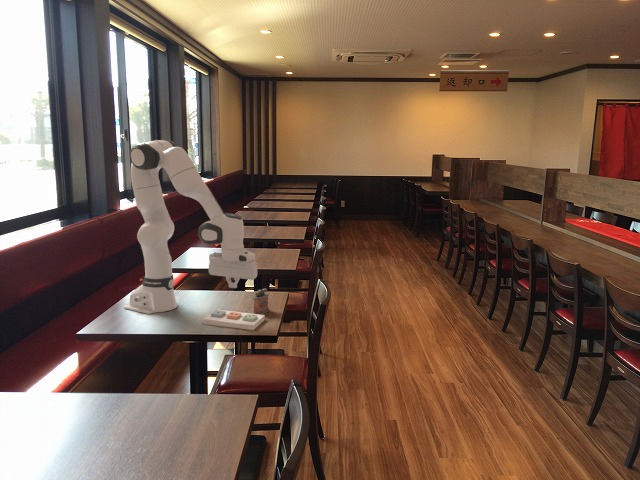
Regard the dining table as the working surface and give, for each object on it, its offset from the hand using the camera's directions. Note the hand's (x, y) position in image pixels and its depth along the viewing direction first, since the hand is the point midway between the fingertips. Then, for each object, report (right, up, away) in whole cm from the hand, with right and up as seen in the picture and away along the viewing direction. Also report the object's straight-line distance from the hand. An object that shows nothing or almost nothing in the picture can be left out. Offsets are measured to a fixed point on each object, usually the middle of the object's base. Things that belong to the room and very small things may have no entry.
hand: (232, 287), depth 206 cm
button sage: (+7, -14, -1) cm, 16 cm away
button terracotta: (0, -14, +1) cm, 14 cm away
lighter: (+10, -12, +12) cm, 20 cm away
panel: (0, -14, +1) cm, 14 cm away
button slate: (-6, -13, +3) cm, 15 cm away
